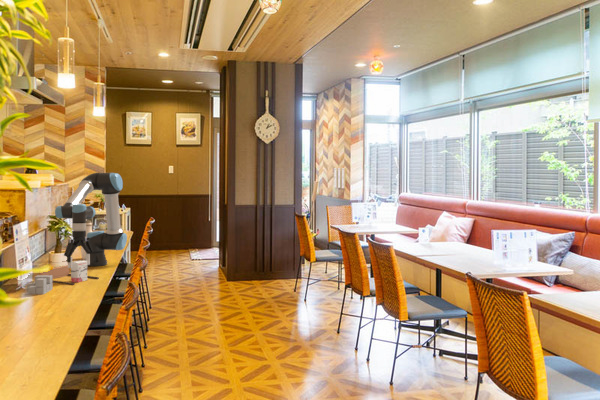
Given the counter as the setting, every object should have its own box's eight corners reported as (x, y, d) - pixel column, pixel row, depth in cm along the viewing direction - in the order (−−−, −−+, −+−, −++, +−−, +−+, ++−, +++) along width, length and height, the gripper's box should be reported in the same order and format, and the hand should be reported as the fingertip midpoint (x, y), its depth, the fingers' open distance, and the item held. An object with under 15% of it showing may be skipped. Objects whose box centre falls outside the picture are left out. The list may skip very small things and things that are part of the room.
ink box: (77, 282, 307) (77, 262, 306) (70, 282, 309) (70, 262, 308) (87, 280, 315) (87, 260, 315) (81, 279, 317) (80, 259, 316)
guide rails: (67, 275, 329) (67, 273, 328) (98, 278, 319) (98, 277, 319) (40, 280, 310) (40, 279, 310) (73, 285, 301) (73, 283, 301)
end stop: (66, 274, 329) (66, 265, 328) (69, 275, 328) (69, 265, 328) (40, 280, 310) (39, 270, 310) (42, 281, 309) (42, 271, 309)
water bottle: (88, 260, 382) (88, 221, 381) (77, 259, 384) (77, 221, 383) (96, 258, 392) (96, 220, 391) (85, 257, 394) (85, 220, 393)
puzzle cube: (30, 289, 289) (29, 275, 288) (52, 289, 290) (52, 275, 289) (19, 294, 277) (19, 279, 276) (43, 294, 278) (43, 279, 277)
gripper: (90, 228, 323) (89, 262, 324) (57, 231, 300) (57, 268, 301) (99, 228, 321) (99, 263, 321) (67, 232, 297) (67, 269, 298)
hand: (78, 266), depth 311 cm, fingers open, 13 cm apart
